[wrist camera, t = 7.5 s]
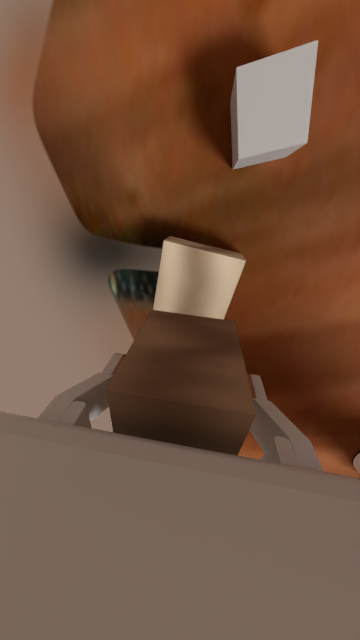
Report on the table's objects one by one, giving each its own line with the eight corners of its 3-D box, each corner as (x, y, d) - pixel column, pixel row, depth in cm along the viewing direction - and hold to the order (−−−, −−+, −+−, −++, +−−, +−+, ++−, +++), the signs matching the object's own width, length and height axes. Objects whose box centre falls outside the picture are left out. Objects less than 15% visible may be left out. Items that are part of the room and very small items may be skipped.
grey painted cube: (290, 83, 17) (318, 40, 12) (285, 157, 19) (307, 142, 15) (230, 101, 18) (236, 67, 13) (232, 169, 20) (238, 159, 16)
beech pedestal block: (241, 253, 24) (246, 260, 21) (218, 314, 29) (219, 329, 25) (170, 235, 24) (163, 240, 21) (159, 299, 29) (152, 312, 25)
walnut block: (234, 321, 11) (256, 415, 6) (219, 380, 14) (224, 482, 9) (151, 309, 12) (106, 389, 7) (150, 369, 14) (118, 461, 9)
